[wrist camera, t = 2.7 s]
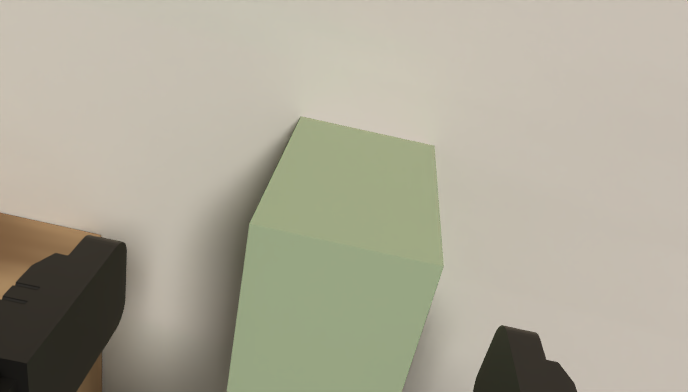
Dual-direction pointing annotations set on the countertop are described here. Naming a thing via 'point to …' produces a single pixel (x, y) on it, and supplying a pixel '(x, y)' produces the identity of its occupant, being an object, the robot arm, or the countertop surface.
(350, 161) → the sage brick
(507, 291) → the countertop surface
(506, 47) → the countertop surface
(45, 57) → the countertop surface
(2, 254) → the oak block
